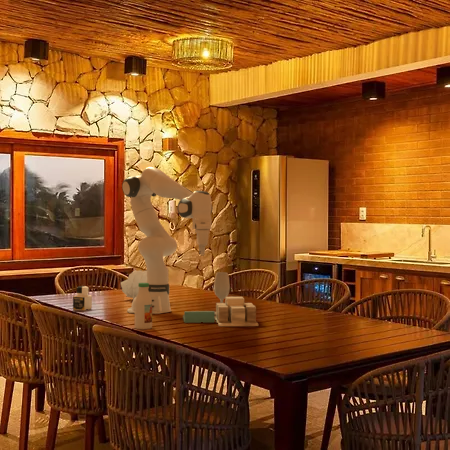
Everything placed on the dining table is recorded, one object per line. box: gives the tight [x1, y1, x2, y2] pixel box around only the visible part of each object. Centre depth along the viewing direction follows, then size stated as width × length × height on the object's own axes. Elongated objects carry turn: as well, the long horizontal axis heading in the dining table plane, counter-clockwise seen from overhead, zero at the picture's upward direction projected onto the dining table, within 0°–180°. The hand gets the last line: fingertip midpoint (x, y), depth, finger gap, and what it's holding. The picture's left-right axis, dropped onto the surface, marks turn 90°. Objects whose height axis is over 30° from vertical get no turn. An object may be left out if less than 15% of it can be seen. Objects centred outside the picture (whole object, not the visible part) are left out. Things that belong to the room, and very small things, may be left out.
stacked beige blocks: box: [214, 296, 259, 327], centre depth 315 cm, size 20×18×11 cm
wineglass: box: [213, 271, 231, 316], centre depth 340 cm, size 9×9×21 cm
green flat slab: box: [182, 310, 216, 324], centre depth 321 cm, size 14×14×5 cm
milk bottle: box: [134, 283, 153, 330], centre depth 297 cm, size 8×8×20 cm
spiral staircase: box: [120, 269, 147, 300], centre depth 388 cm, size 18×18×25 cm
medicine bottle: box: [72, 285, 93, 311], centre depth 352 cm, size 7×7×12 cm
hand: (201, 254), depth 315 cm, fingers open, 8 cm apart
